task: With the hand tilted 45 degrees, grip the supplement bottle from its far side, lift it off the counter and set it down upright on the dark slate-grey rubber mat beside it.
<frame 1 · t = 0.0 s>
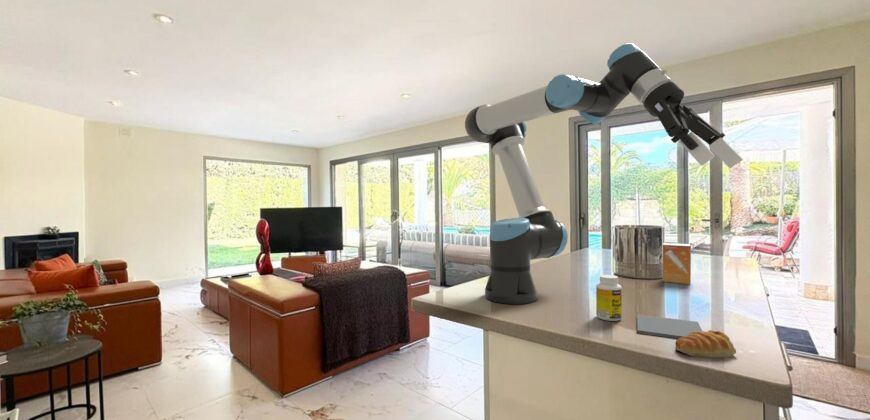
hand: (723, 162, 73), 36 cm above the counter, tool tilted 35°, fingers open, 13 cm apart
small box: (676, 282, 124), on the counter
supplement bottle: (608, 319, 87), on the counter
mat: (668, 328, 79), on the counter
pastry: (705, 353, 67), on the counter
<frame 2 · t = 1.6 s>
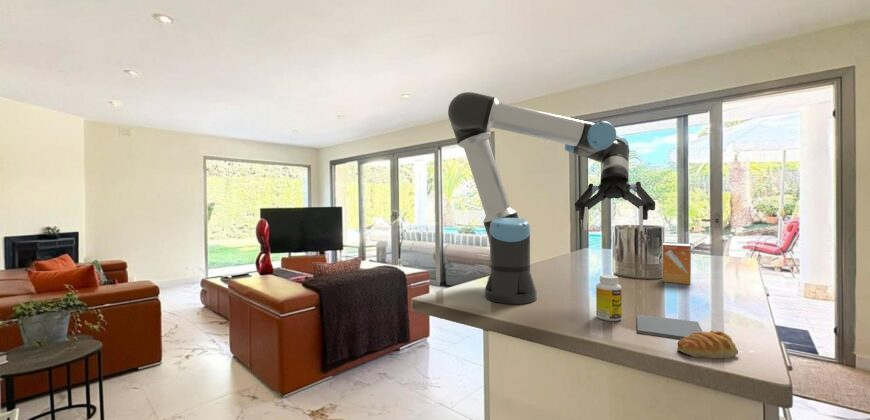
hand: (612, 227, 96), 21 cm above the counter, tool tilted 45°, fingers open, 13 cm apart
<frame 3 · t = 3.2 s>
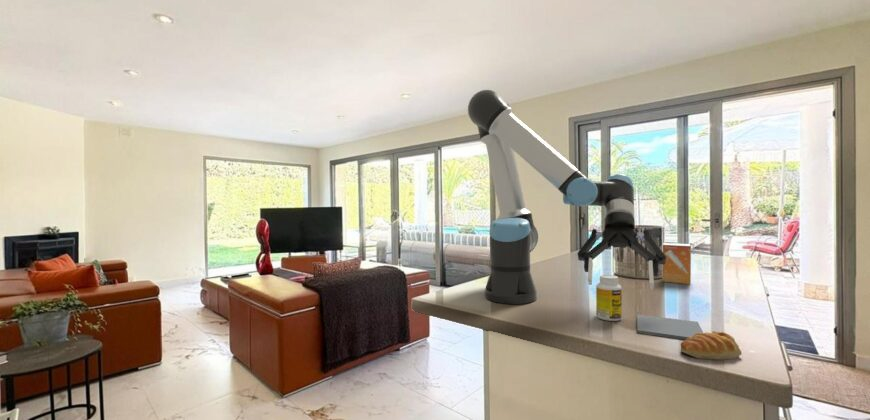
hand: (619, 284, 88), 8 cm above the counter, tool tilted 45°, fingers open, 13 cm apart
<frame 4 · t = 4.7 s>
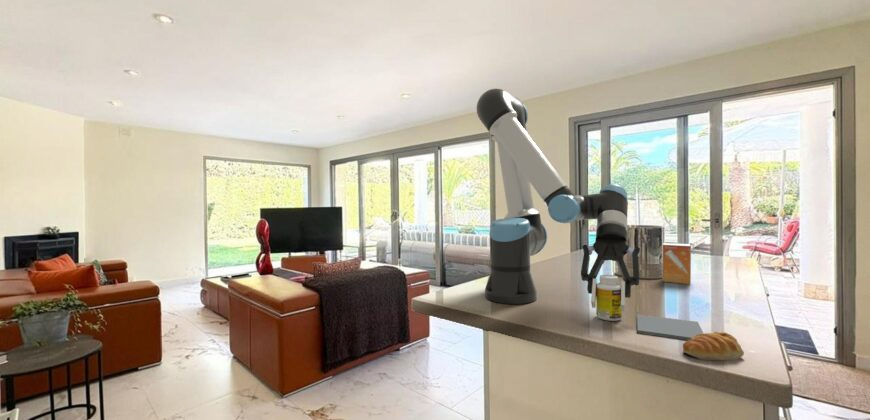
hand: (607, 306, 84), 4 cm above the counter, tool tilted 45°, fingers closed on supplement bottle, 5 cm apart
supplement bottle: (608, 318, 87), on the counter, touching gripper
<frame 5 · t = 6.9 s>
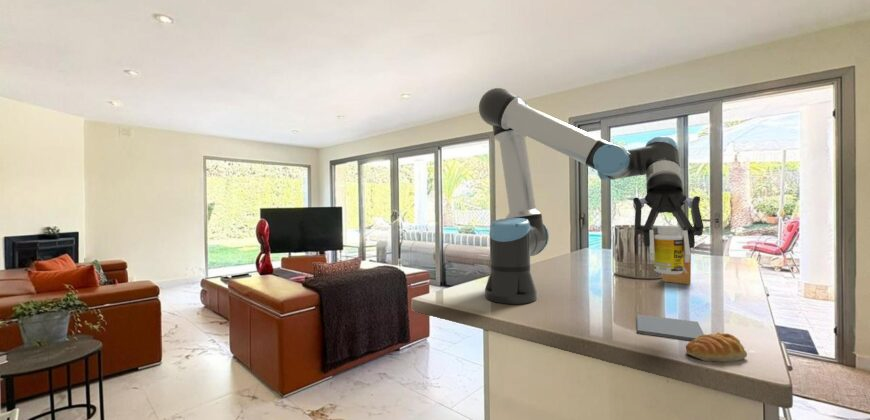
hand: (669, 257, 76), 16 cm above the counter, tool tilted 45°, fingers closed on supplement bottle, 5 cm apart
supplement bottle: (668, 273, 79), point 12 cm above the counter, touching gripper
when the fingers open (6 cm above the counter, at t = 9.0 s): supplement bottle drops 1 cm, resting on mat.
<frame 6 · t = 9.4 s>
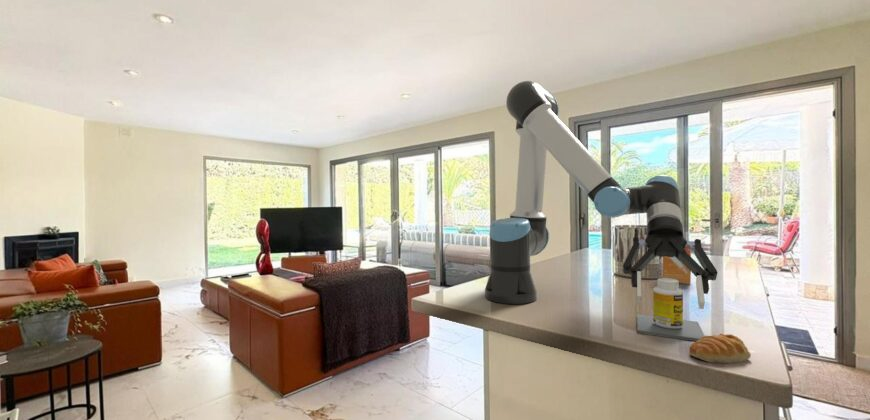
hand: (669, 302, 77), 7 cm above the counter, tool tilted 45°, fingers open, 10 cm apart
supplement bottle: (667, 326, 80), resting on mat
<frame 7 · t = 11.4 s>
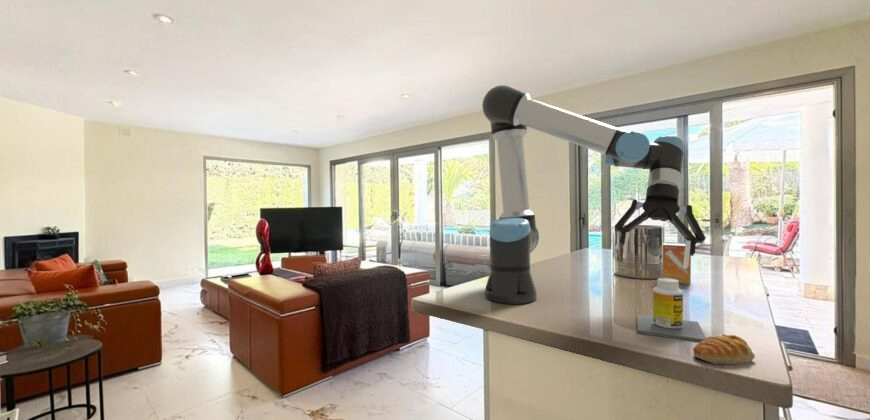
hand: (653, 261, 92), 13 cm above the counter, tool tilted 25°, fingers open, 13 cm apart
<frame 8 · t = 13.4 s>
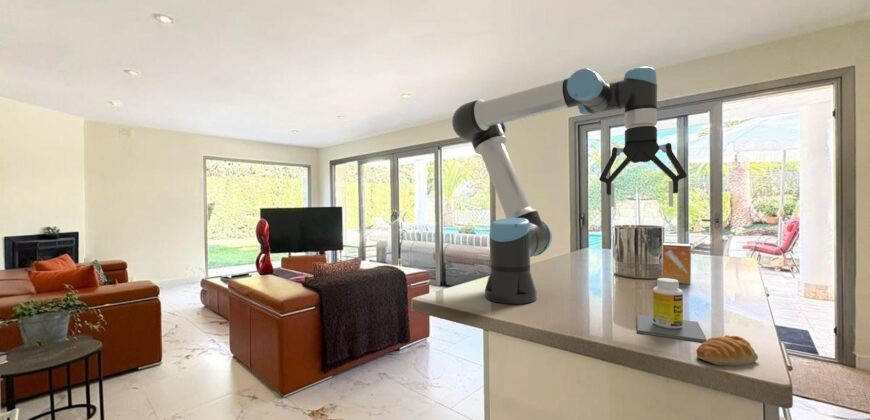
hand: (640, 206, 97), 27 cm above the counter, tool pointing down, fingers open, 13 cm apart
at the end: supplement bottle inside the target area on the mat (0.1 cm from its centre), point 0.4 cm above the mat's base; supplement bottle tilted 0°; the gripper is holding nothing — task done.
